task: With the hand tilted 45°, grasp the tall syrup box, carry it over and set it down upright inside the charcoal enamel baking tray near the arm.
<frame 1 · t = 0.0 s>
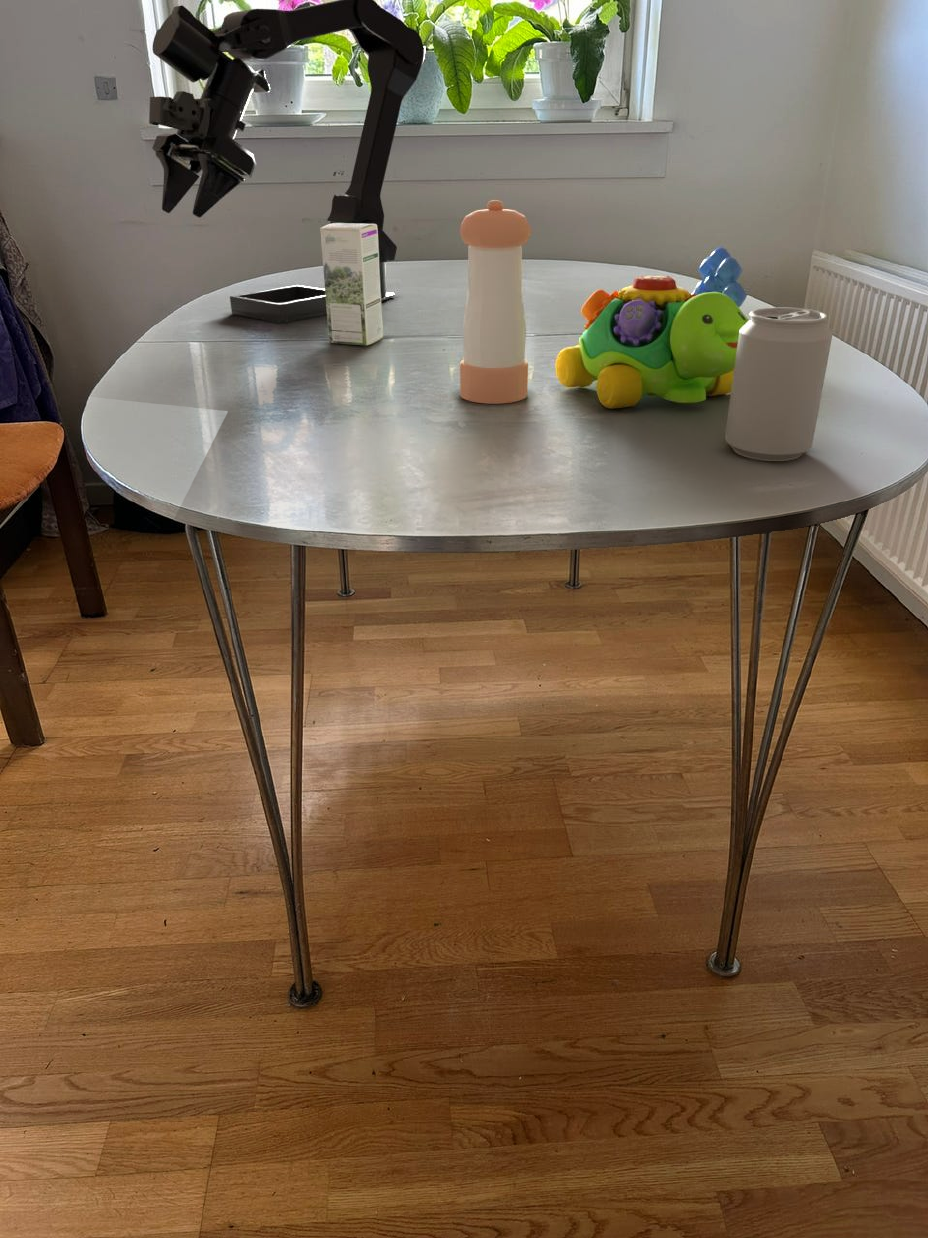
hand: (180, 213, 126), 15 cm above the table, tool tilted 35°, fingers open, 9 cm apart
baking tray: (290, 311, 142), on the table
grapes: (706, 349, 118), on the table
pepper shaker: (493, 396, 99), on the table
can: (766, 452, 82), on the table
syrup box: (356, 342, 123), on the table
turtle toy: (659, 398, 98), on the table
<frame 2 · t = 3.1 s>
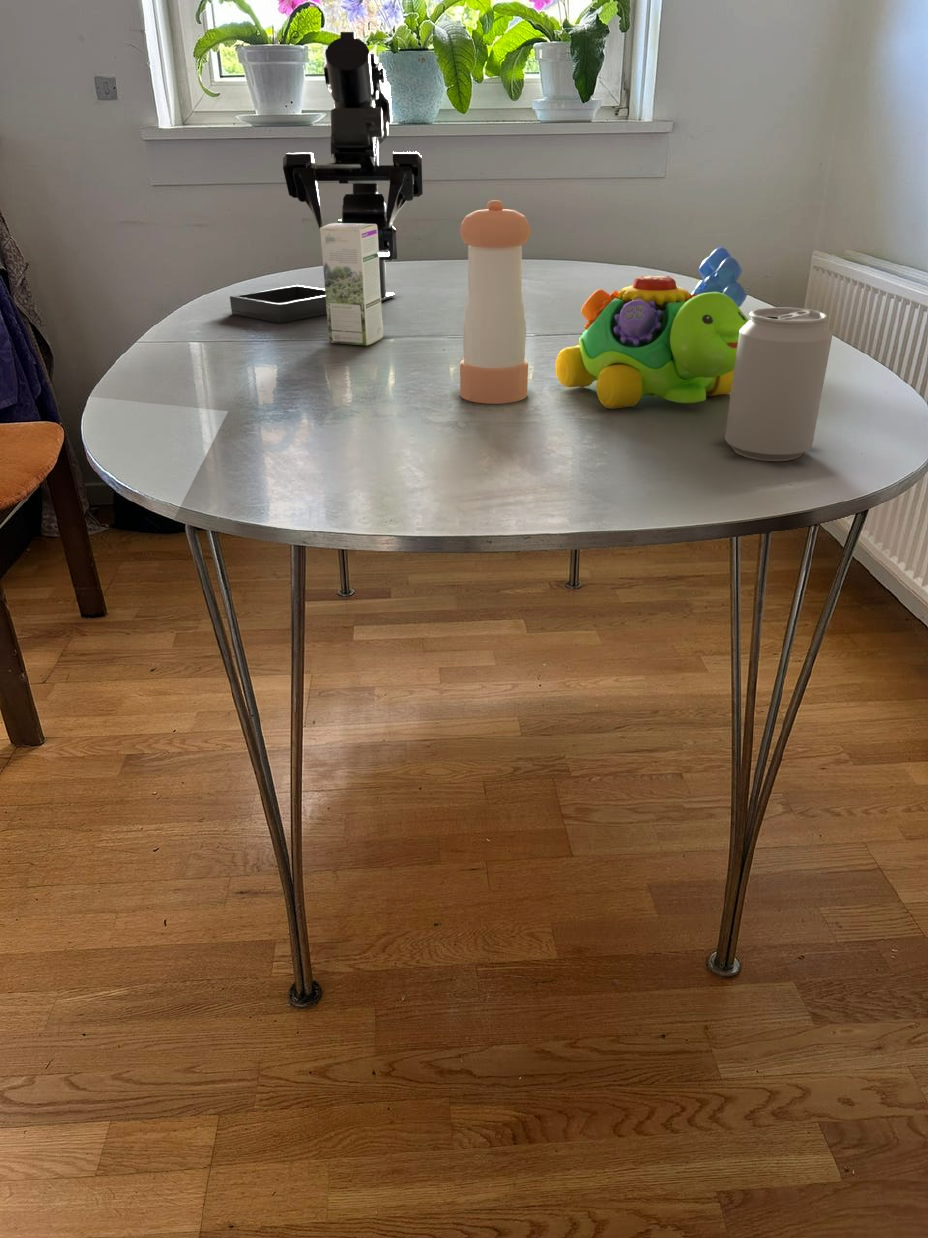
hand: (354, 225, 123), 14 cm above the table, tool tilted 45°, fingers open, 9 cm apart
nothing on the table moved.
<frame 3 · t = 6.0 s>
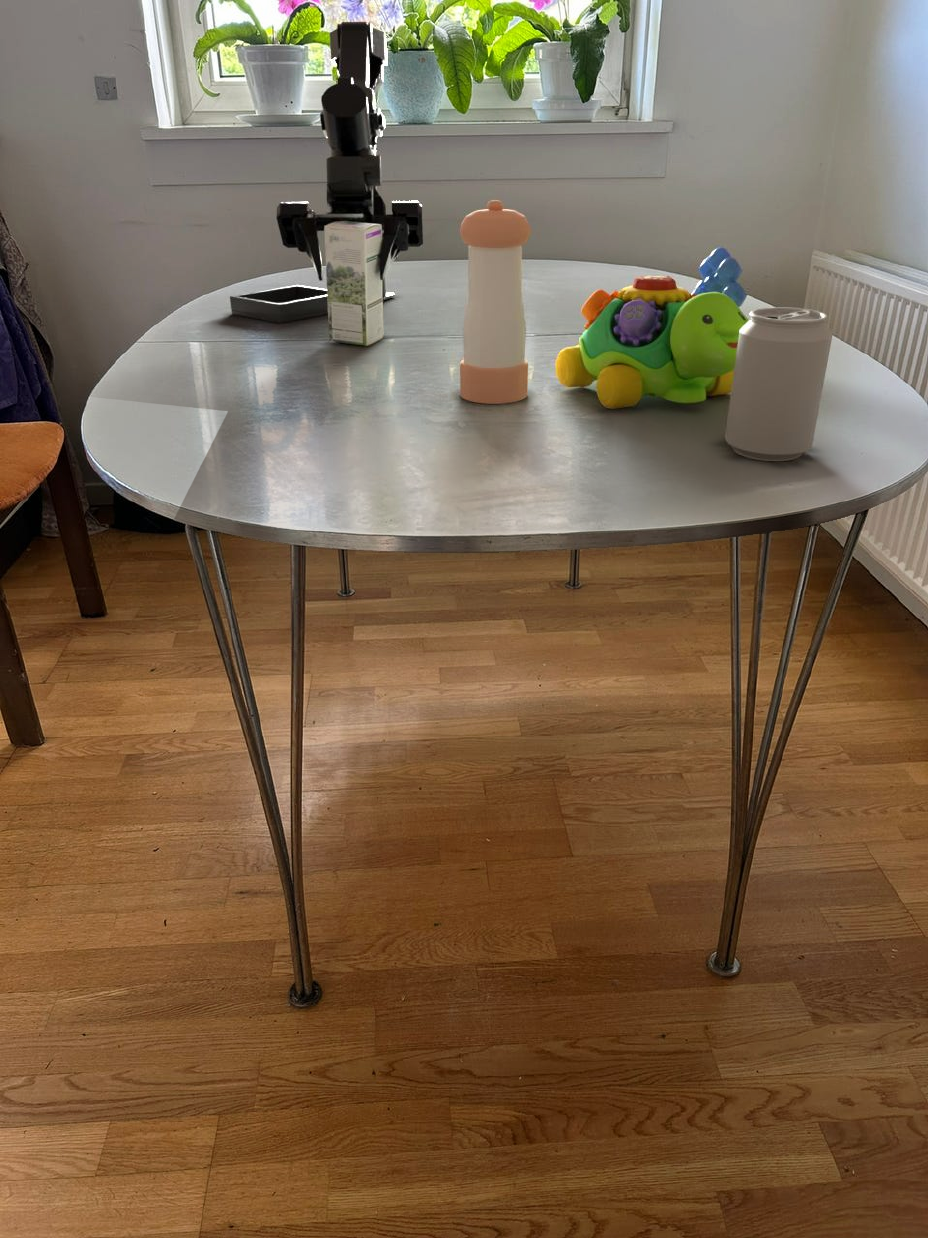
hand: (350, 278, 117), 8 cm above the table, tool tilted 45°, fingers closed on syrup box, 7 cm apart
syrup box: (356, 341, 123), on the table, touching gripper
everything else where it was.
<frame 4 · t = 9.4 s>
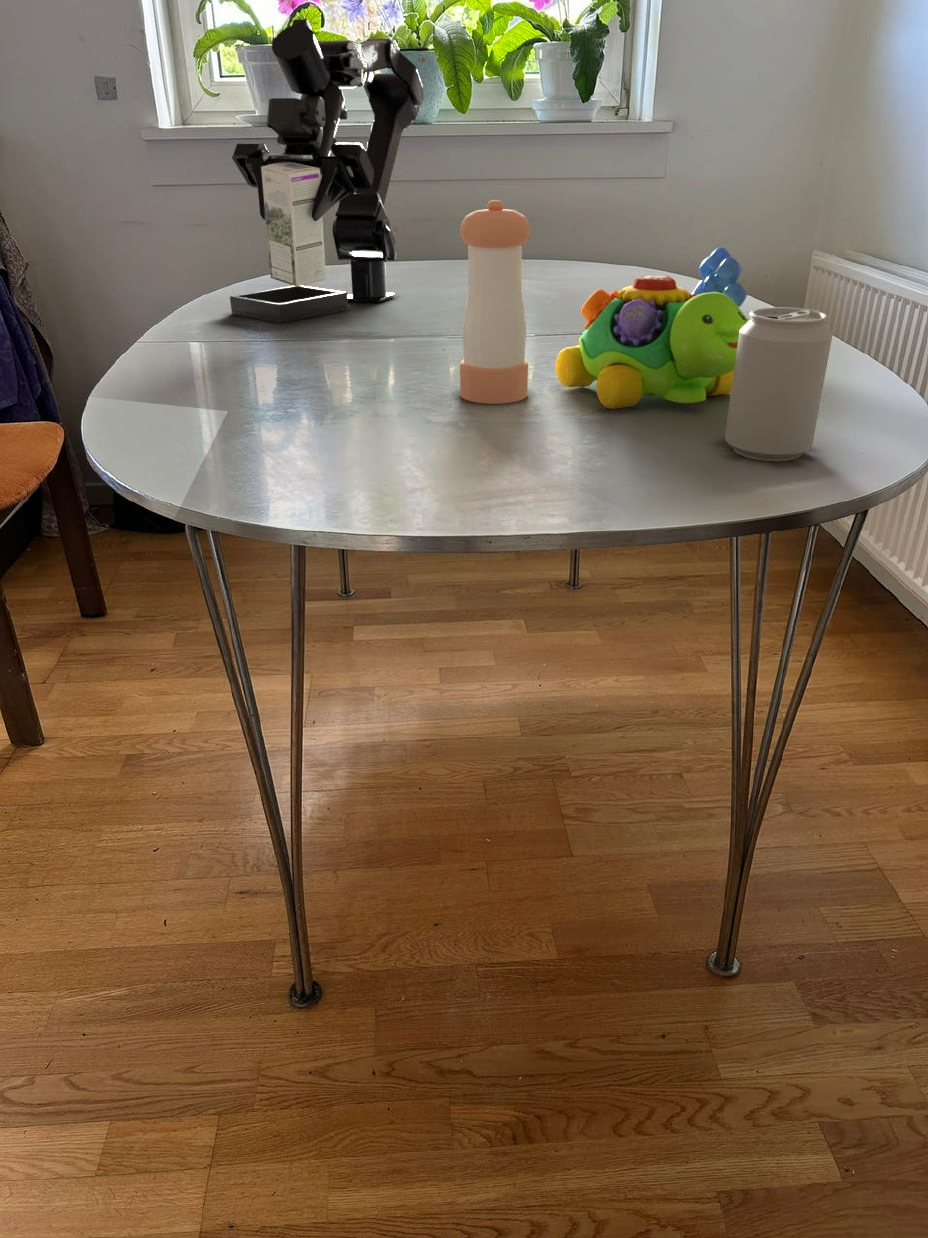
hand: (288, 218, 122), 15 cm above the table, tool tilted 45°, fingers closed on syrup box, 7 cm apart
syrup box: (298, 281, 128), point 6 cm above the table, touching gripper
everything else where it was.
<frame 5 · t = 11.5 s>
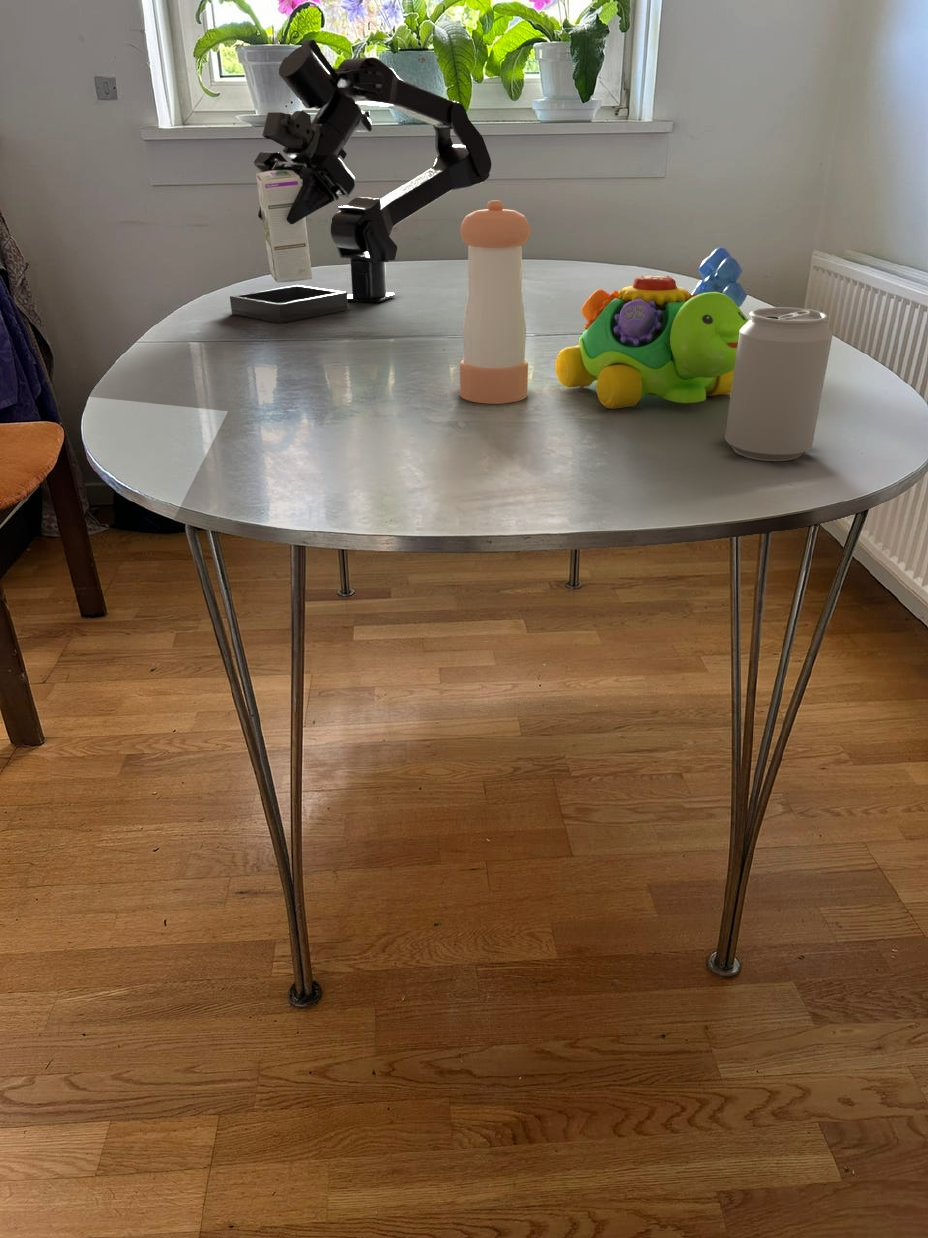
hand: (274, 220, 135), 13 cm above the table, tool tilted 45°, fingers closed on syrup box, 7 cm apart
syrup box: (290, 277, 140), point 5 cm above the table, touching gripper
everything else where it was.
when the fingers open (9 cm above the table, at t = 13.2 s): syrup box stays where it is, resting on baking tray.
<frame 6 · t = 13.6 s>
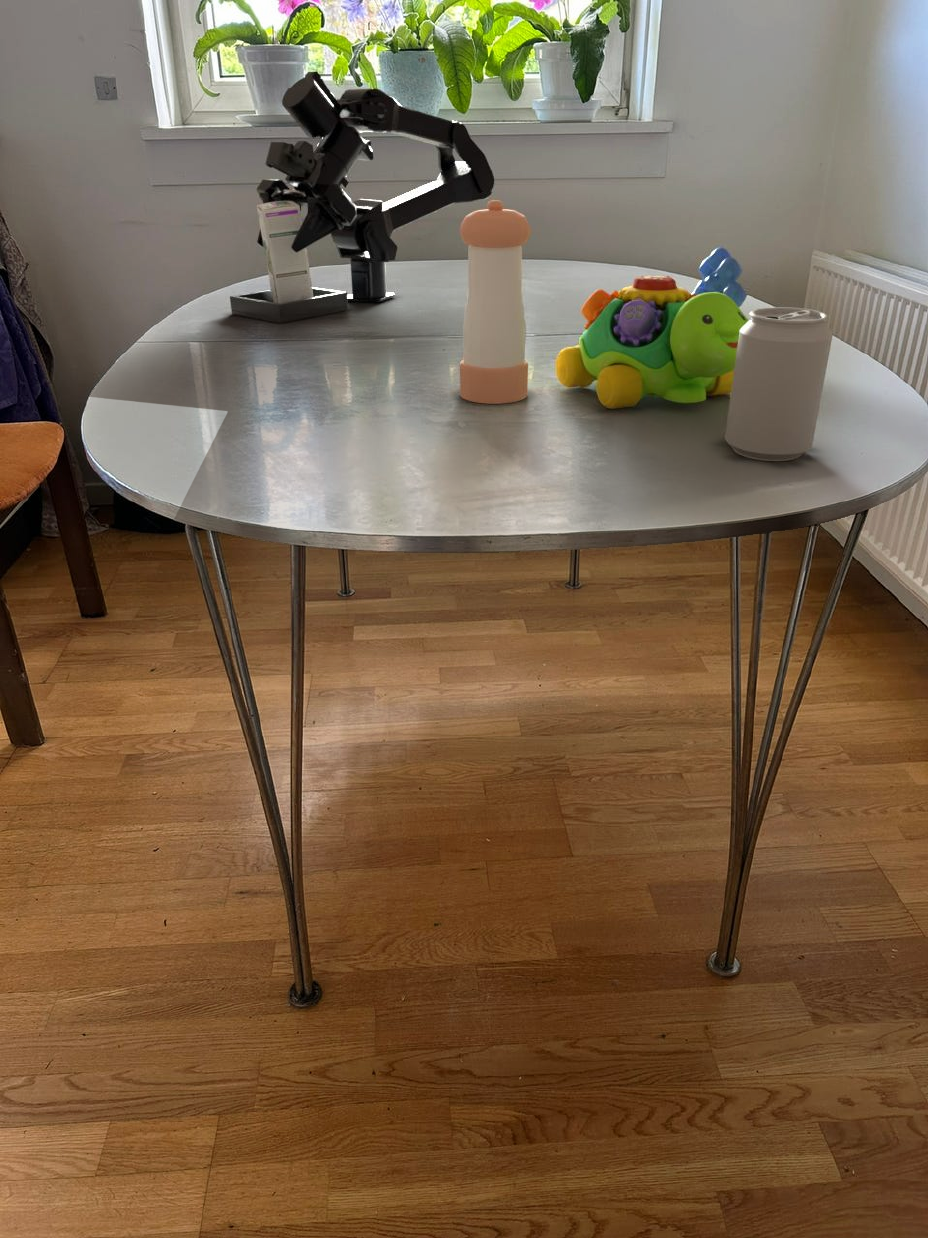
hand: (276, 247, 136), 9 cm above the table, tool tilted 45°, fingers open, 9 cm apart
syrup box: (293, 305, 142), point 1 cm above the table, touching baking tray, gripper
everything else where it was.
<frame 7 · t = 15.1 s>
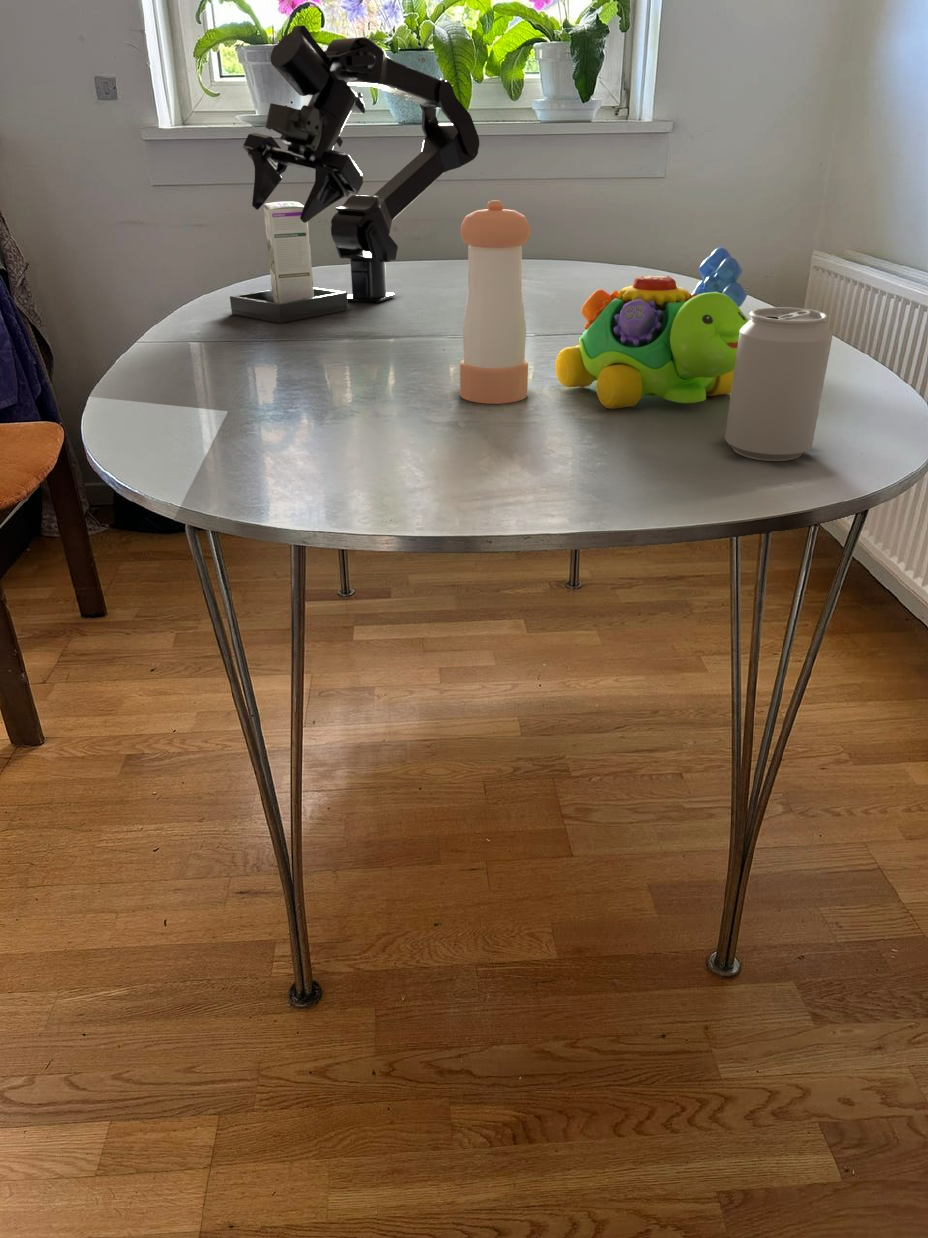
hand: (278, 214, 133), 14 cm above the table, tool tilted 40°, fingers open, 9 cm apart
syrup box: (293, 306, 142), point 1 cm above the table, touching baking tray
everything else where it was.
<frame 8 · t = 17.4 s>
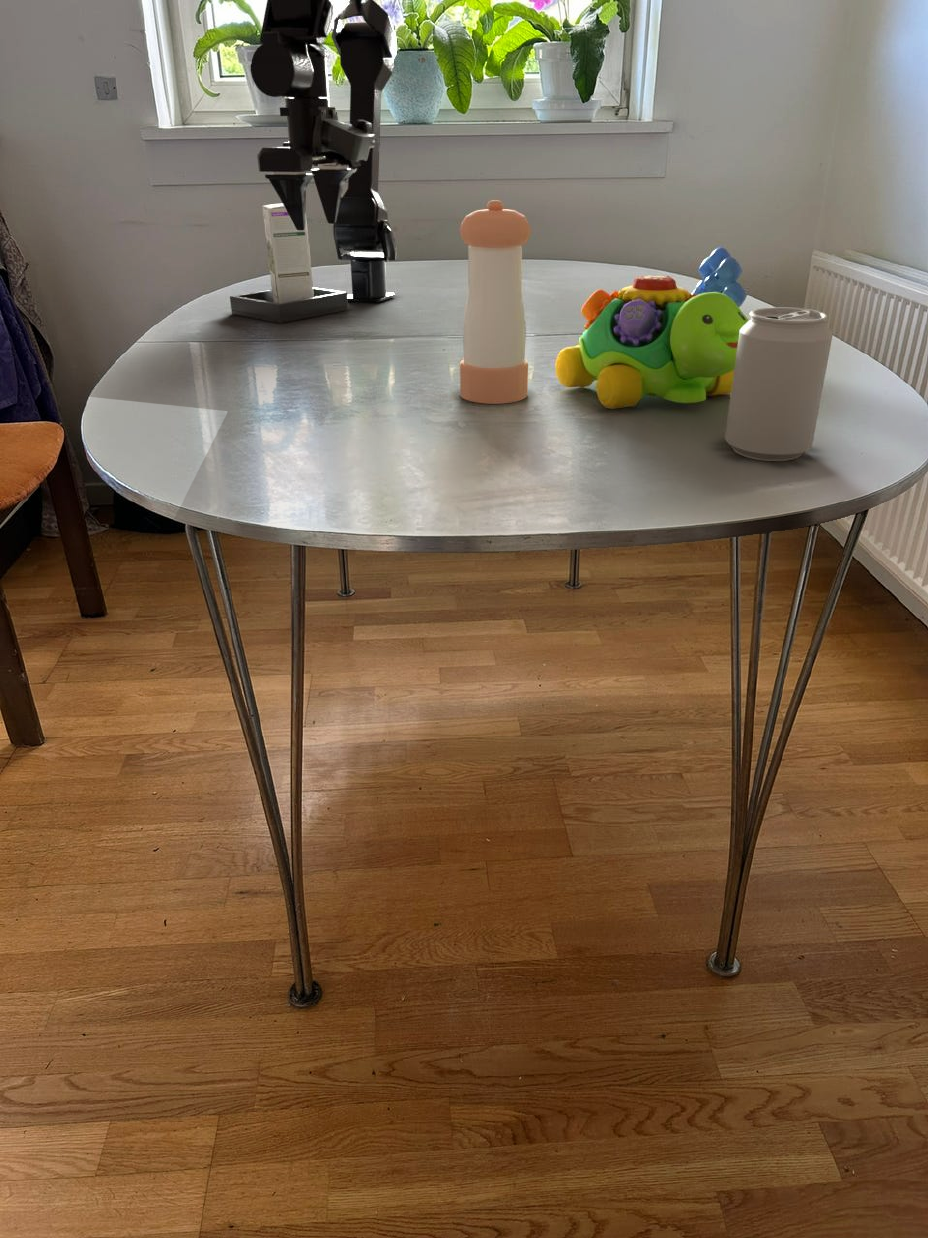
hand: (316, 226, 128), 13 cm above the table, tool pointing down, fingers open, 9 cm apart
at the end: syrup box inside the target area in the baking tray (1.2 cm from its centre), point 0.4 cm above the baking tray's base; syrup box tilted 0°; the gripper is holding nothing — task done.
